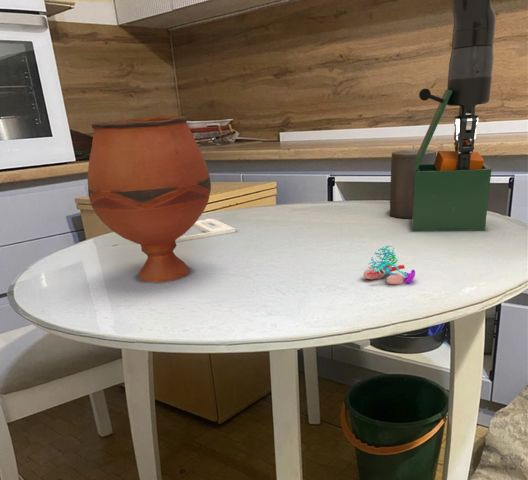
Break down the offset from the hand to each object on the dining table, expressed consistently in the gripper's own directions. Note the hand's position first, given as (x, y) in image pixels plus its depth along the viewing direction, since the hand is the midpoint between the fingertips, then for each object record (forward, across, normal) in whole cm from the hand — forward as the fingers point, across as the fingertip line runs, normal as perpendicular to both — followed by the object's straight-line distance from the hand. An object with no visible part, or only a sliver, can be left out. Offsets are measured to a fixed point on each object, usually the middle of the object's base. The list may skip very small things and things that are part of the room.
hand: (461, 172), depth 104 cm
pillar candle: (+11, +14, +9) cm, 20 cm away
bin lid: (-8, +1, +6) cm, 10 cm away
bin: (+11, +1, +2) cm, 11 cm away
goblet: (+11, -34, +50) cm, 61 cm away
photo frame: (+11, -3, +58) cm, 59 cm away
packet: (-1, 0, +1) cm, 1 cm away
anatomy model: (+11, -36, +13) cm, 40 cm away
